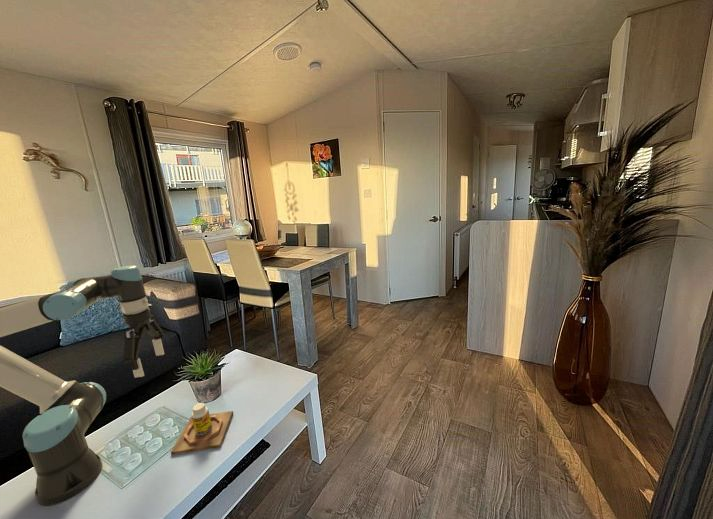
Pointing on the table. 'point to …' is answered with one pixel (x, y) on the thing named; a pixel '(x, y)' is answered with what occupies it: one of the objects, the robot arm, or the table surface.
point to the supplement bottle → (201, 419)
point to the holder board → (203, 442)
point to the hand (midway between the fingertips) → (150, 365)
